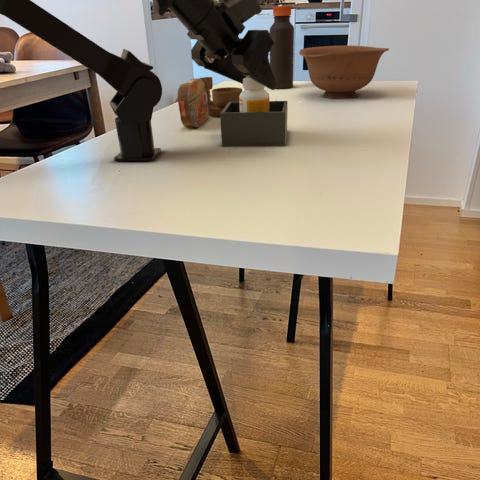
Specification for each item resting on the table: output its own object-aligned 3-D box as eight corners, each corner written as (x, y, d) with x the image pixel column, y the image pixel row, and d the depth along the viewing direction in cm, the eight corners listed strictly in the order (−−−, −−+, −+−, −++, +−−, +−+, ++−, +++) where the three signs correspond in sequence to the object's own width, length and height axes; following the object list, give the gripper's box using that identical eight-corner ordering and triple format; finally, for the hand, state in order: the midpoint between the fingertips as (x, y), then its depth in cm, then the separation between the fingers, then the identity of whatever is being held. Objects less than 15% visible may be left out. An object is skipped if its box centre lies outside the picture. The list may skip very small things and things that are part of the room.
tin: (193, 131, 96) (189, 85, 91) (178, 131, 96) (173, 85, 92) (211, 116, 108) (208, 75, 103) (198, 116, 109) (194, 75, 104)
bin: (285, 145, 84) (285, 112, 81) (221, 146, 85) (220, 113, 82) (287, 131, 93) (287, 100, 90) (230, 132, 94) (228, 101, 91)
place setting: (184, 117, 108) (181, 89, 105) (202, 102, 124) (201, 77, 121) (261, 117, 105) (261, 87, 102) (270, 101, 122) (270, 75, 119)
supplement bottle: (234, 136, 89) (232, 79, 83) (253, 131, 92) (252, 75, 87) (256, 140, 86) (255, 81, 80) (275, 134, 89) (275, 77, 84)
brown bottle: (282, 85, 145) (282, 6, 134) (297, 86, 140) (299, 5, 129) (265, 87, 141) (264, 6, 130) (280, 89, 137) (281, 6, 126)
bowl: (304, 104, 116) (305, 53, 110) (292, 91, 134) (293, 46, 128) (394, 100, 116) (401, 49, 110) (370, 87, 134) (375, 42, 128)
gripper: (263, -38, 66) (320, 47, 77) (201, -28, 80) (257, 43, 91) (217, 32, 67) (280, 106, 78) (163, 29, 81) (223, 93, 92)
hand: (259, 84), depth 85 cm, fingers open, 9 cm apart
